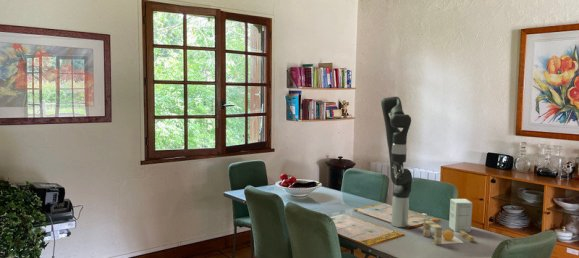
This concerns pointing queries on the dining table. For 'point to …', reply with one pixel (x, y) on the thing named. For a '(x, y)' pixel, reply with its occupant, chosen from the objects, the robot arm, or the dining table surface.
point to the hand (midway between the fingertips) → (397, 185)
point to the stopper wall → (466, 236)
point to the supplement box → (460, 215)
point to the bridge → (437, 231)
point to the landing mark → (454, 240)
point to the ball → (448, 235)
